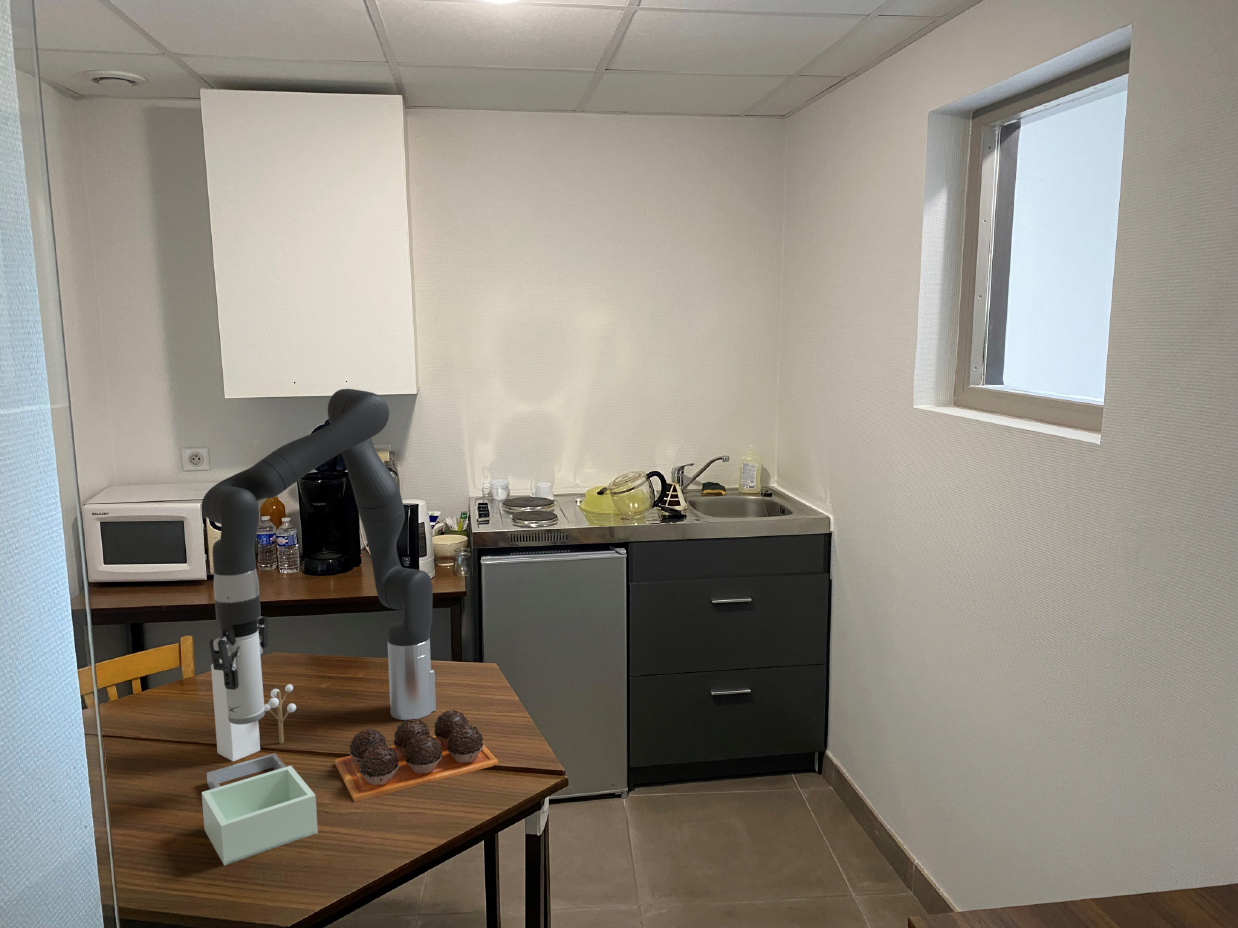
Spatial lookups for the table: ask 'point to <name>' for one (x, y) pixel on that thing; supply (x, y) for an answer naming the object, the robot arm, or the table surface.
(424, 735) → the chocolate truffle
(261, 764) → the collar
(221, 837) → the bin
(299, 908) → the table surface
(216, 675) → the milk
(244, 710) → the travel mug
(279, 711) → the cotton branch
